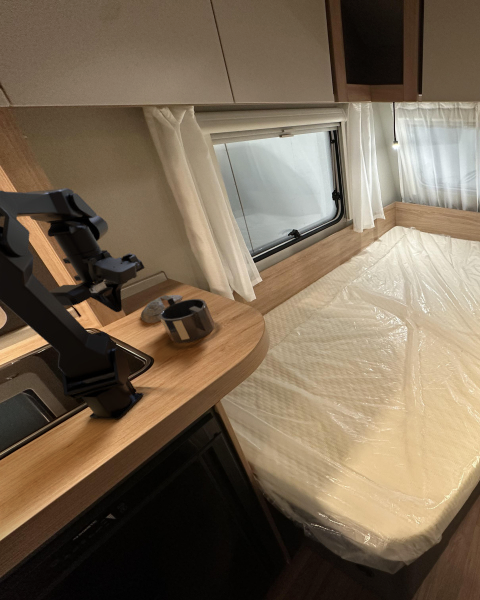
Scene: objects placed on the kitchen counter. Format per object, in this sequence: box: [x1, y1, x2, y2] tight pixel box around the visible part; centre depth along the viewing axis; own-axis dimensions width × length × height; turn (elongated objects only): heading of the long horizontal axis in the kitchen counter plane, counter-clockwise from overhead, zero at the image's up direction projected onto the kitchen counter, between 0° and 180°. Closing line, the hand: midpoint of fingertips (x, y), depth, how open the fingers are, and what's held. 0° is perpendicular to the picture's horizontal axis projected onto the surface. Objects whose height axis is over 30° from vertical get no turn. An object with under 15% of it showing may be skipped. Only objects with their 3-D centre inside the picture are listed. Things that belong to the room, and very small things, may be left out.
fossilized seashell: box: [140, 294, 184, 324], centre depth 96 cm, size 11×10×7 cm
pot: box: [159, 294, 216, 344], centre depth 84 cm, size 11×18×9 cm, turn 60°
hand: (118, 311), depth 76 cm, fingers closed
